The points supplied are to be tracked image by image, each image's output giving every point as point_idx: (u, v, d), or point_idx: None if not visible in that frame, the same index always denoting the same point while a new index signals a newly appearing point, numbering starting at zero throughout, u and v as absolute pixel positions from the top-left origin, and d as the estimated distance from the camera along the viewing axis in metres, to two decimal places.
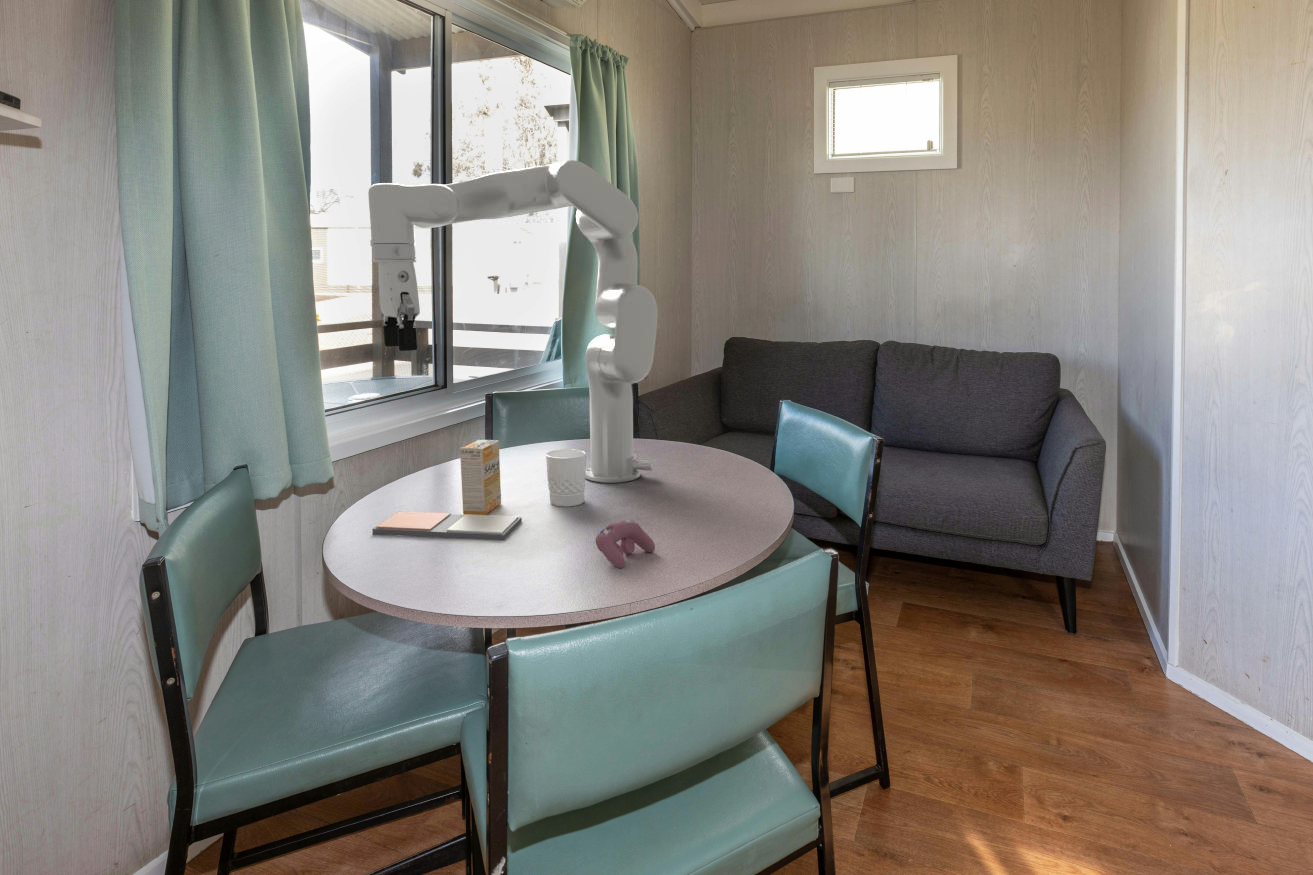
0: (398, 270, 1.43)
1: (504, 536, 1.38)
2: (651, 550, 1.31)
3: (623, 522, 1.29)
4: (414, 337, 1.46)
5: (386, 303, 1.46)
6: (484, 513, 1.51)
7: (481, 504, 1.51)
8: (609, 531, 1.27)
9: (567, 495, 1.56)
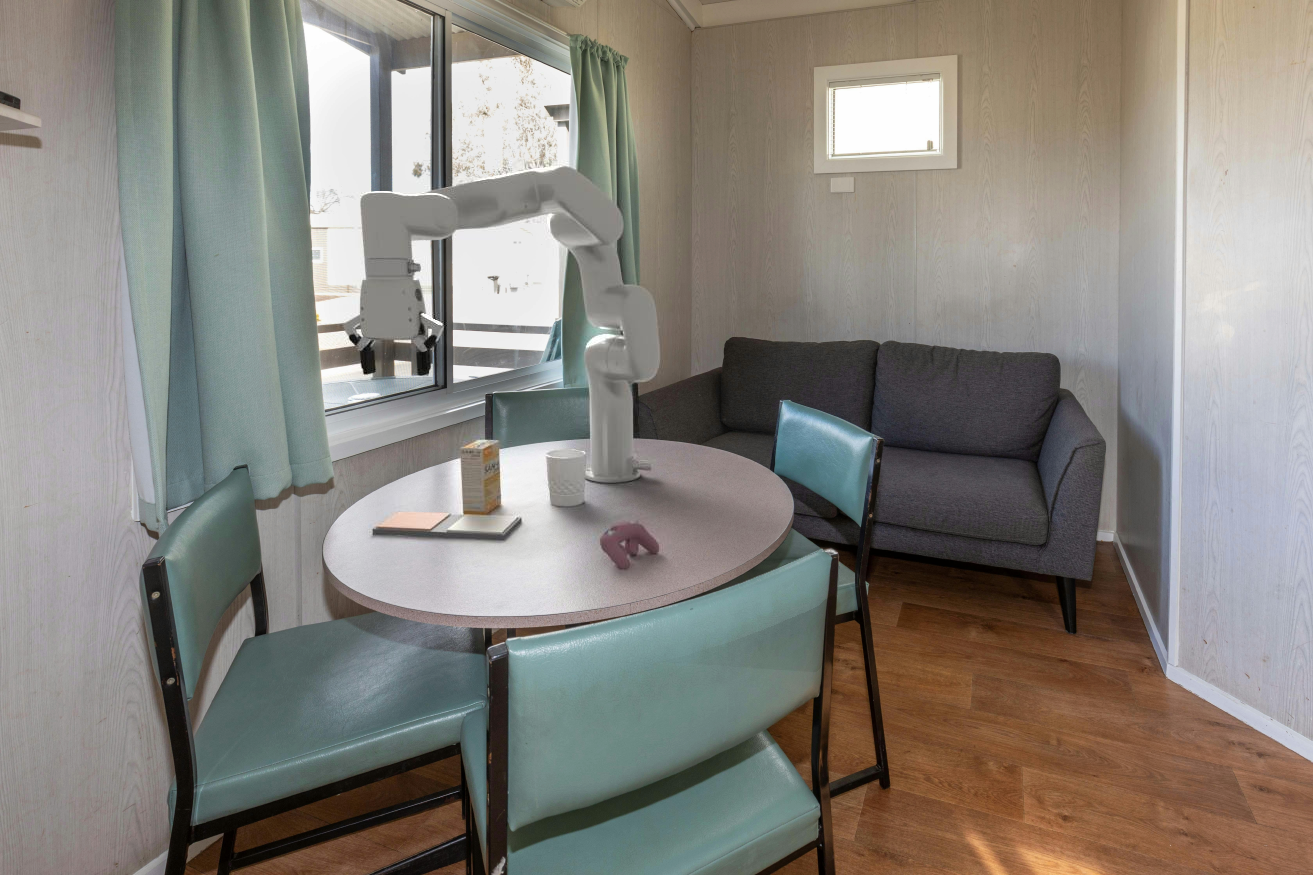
0: (415, 288, 1.31)
1: (504, 536, 1.38)
2: (655, 551, 1.31)
3: (627, 523, 1.29)
4: None
5: (392, 325, 1.31)
6: (484, 513, 1.51)
7: (481, 504, 1.51)
8: (613, 532, 1.26)
9: (567, 495, 1.56)
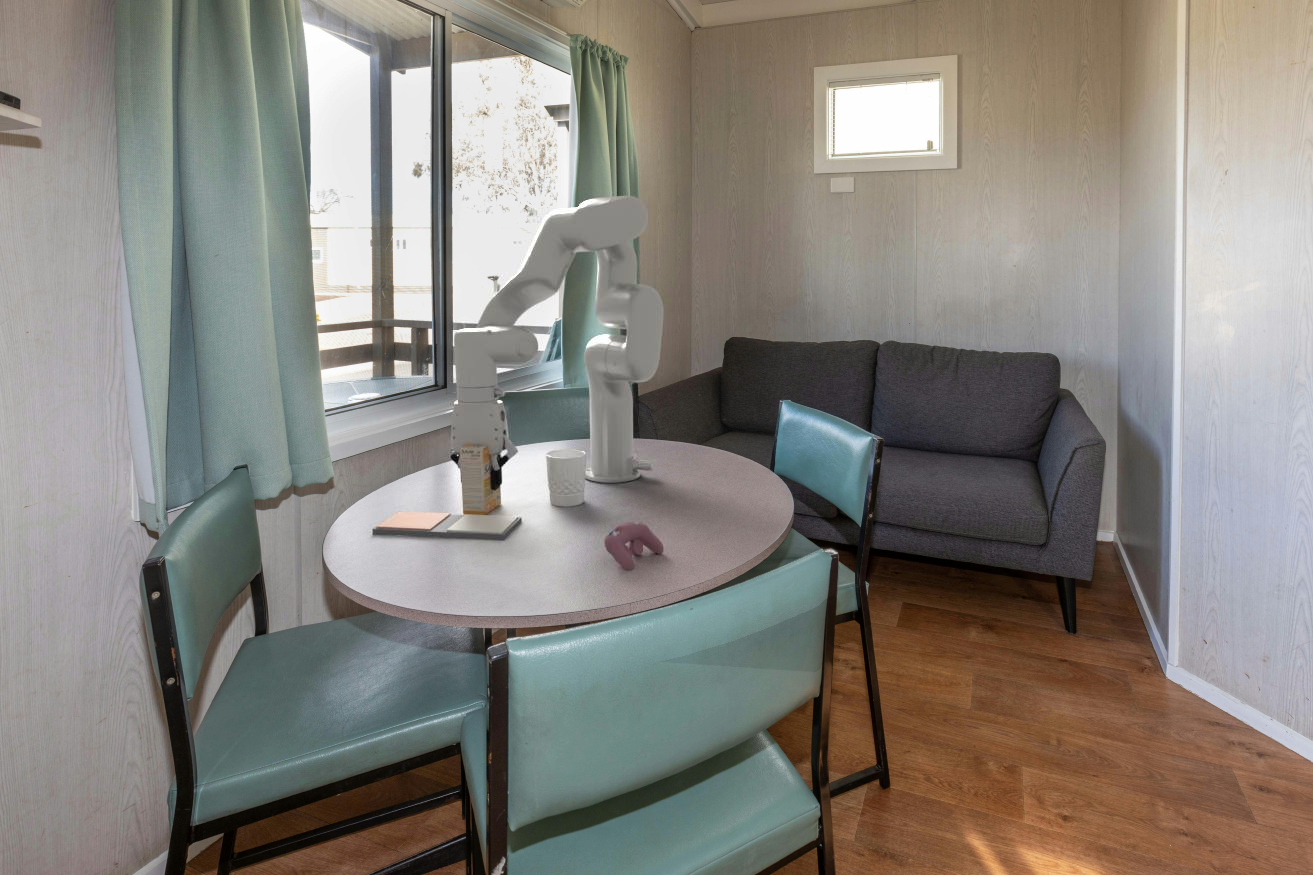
0: (500, 410, 1.50)
1: (504, 536, 1.38)
2: (660, 552, 1.30)
3: (632, 524, 1.28)
4: None
5: (480, 442, 1.50)
6: (484, 513, 1.51)
7: (481, 503, 1.51)
8: (618, 533, 1.26)
9: (567, 495, 1.56)
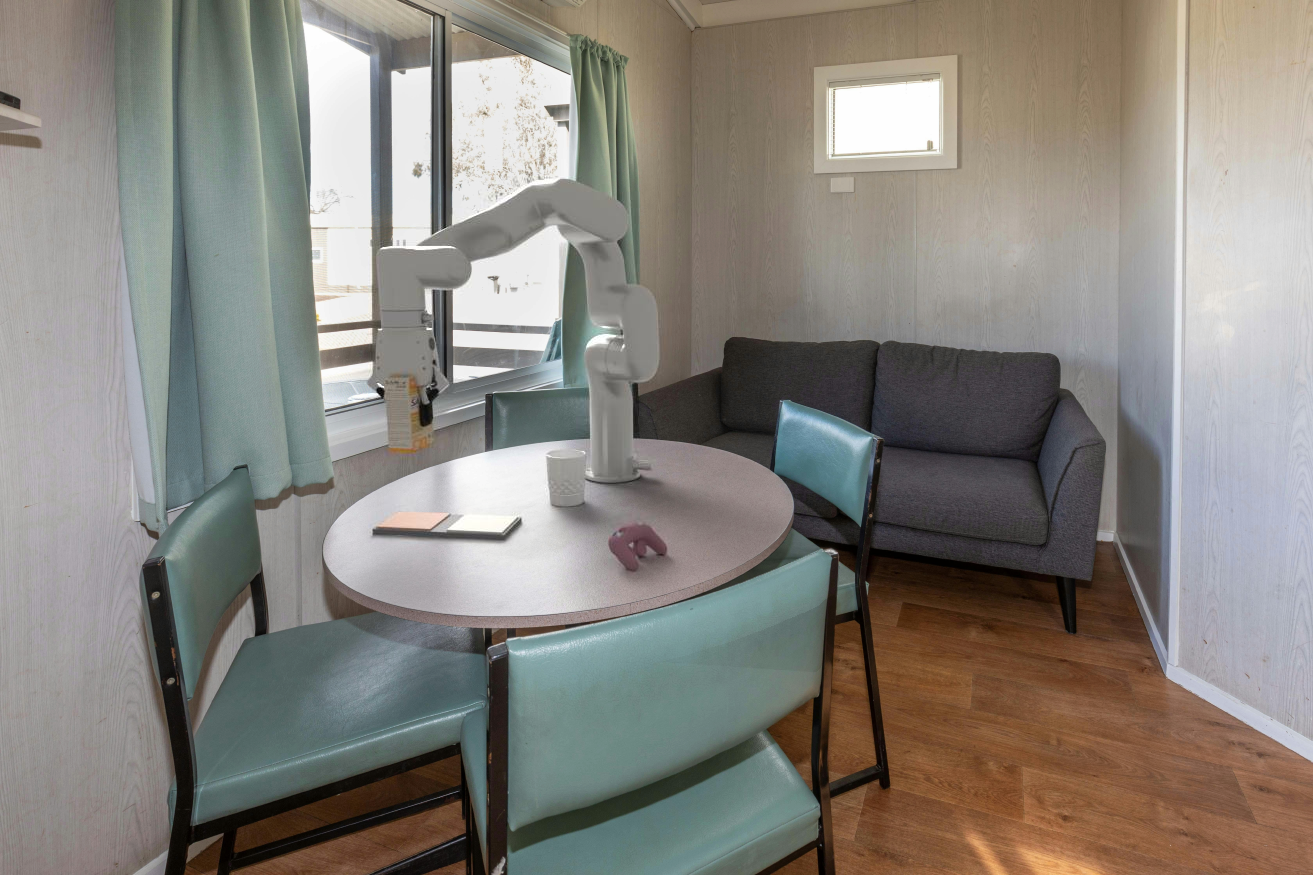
0: (428, 338, 1.36)
1: (504, 536, 1.38)
2: (663, 552, 1.30)
3: (635, 524, 1.28)
4: None
5: (407, 373, 1.37)
6: (412, 451, 1.37)
7: (408, 440, 1.37)
8: (622, 533, 1.25)
9: (567, 495, 1.56)
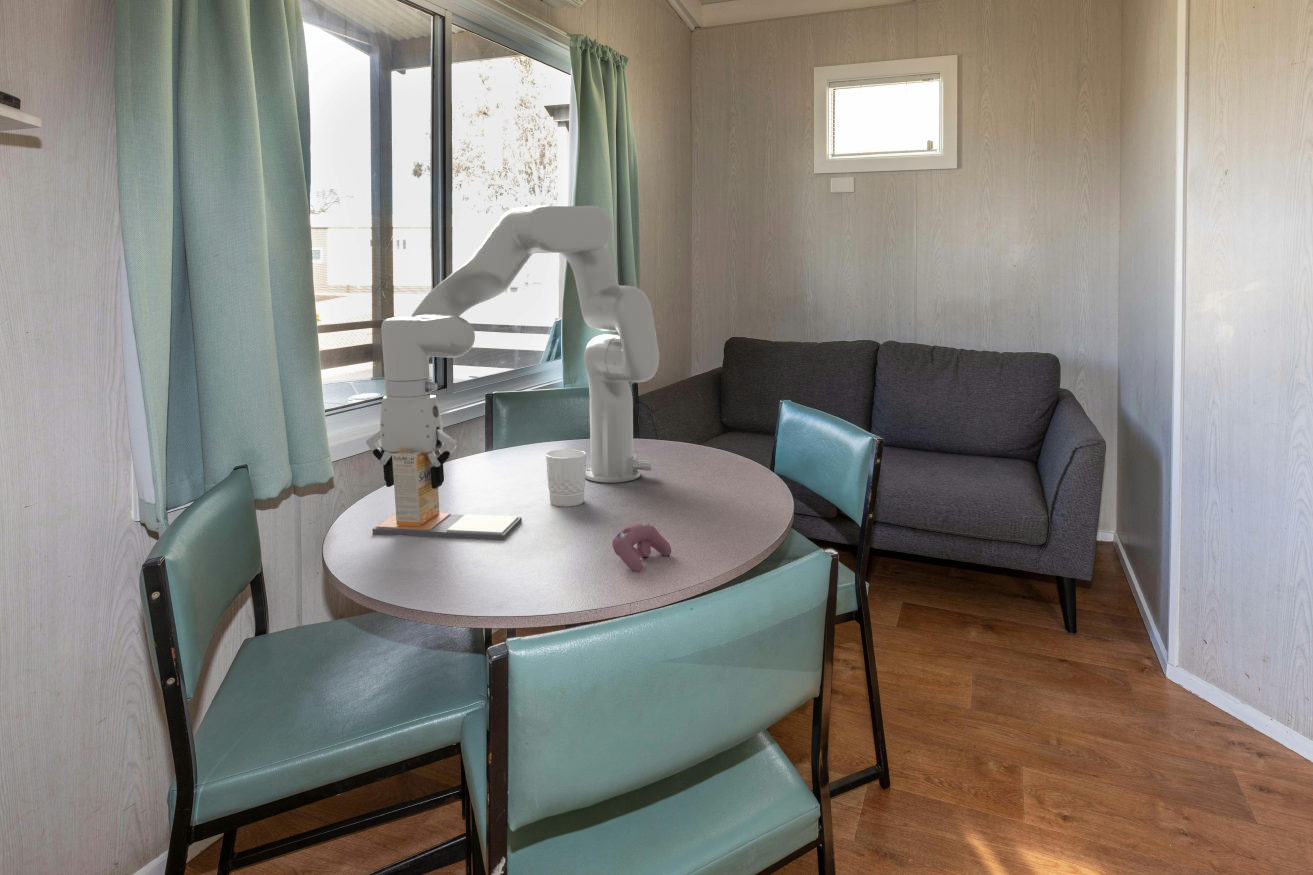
0: (432, 406, 1.39)
1: (504, 536, 1.38)
2: (667, 553, 1.30)
3: (639, 525, 1.28)
4: None
5: (411, 440, 1.39)
6: (419, 524, 1.40)
7: (416, 514, 1.40)
8: (626, 534, 1.25)
9: (567, 495, 1.56)
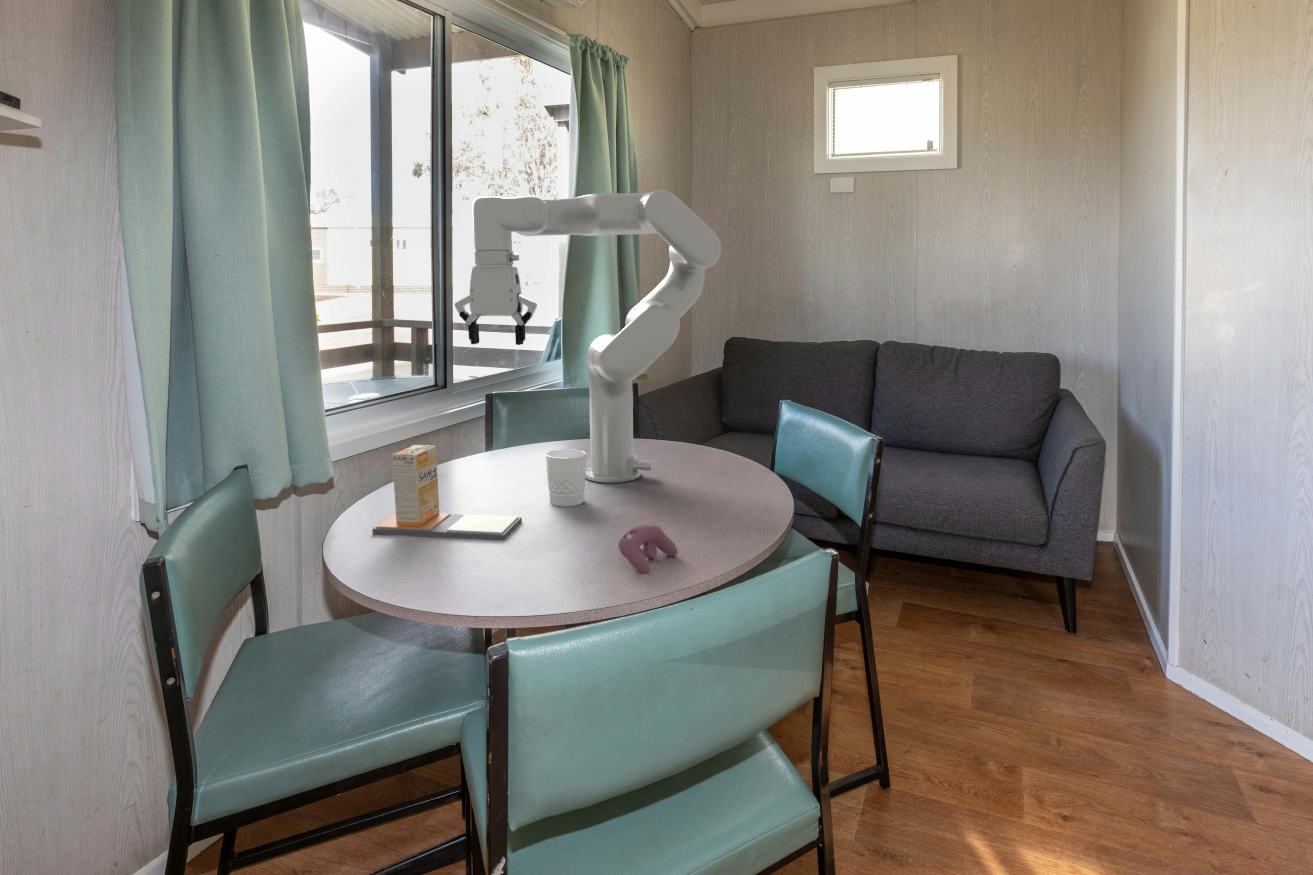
0: (514, 274, 1.62)
1: (504, 536, 1.38)
2: (673, 554, 1.29)
3: (646, 526, 1.27)
4: None
5: (496, 303, 1.63)
6: (419, 524, 1.40)
7: (416, 514, 1.40)
8: (632, 535, 1.24)
9: (567, 495, 1.56)
